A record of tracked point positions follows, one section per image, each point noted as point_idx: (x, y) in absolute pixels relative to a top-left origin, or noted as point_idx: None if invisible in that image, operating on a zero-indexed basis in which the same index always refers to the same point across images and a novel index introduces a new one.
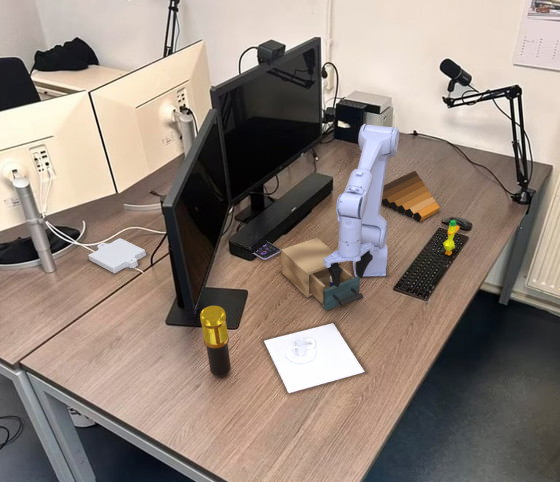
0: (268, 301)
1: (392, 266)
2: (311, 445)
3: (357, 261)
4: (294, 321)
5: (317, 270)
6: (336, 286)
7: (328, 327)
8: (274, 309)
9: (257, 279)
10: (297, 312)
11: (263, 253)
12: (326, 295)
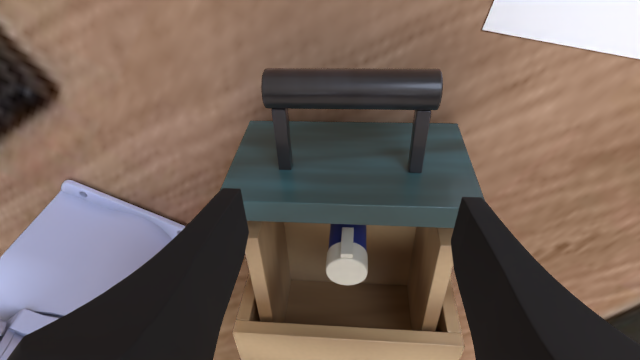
0: (574, 275)
1: (22, 207)
2: None
3: (207, 345)
4: (615, 141)
5: (395, 336)
6: (485, 204)
7: (532, 10)
8: (601, 236)
9: None
10: (548, 181)
11: None
12: (473, 186)
